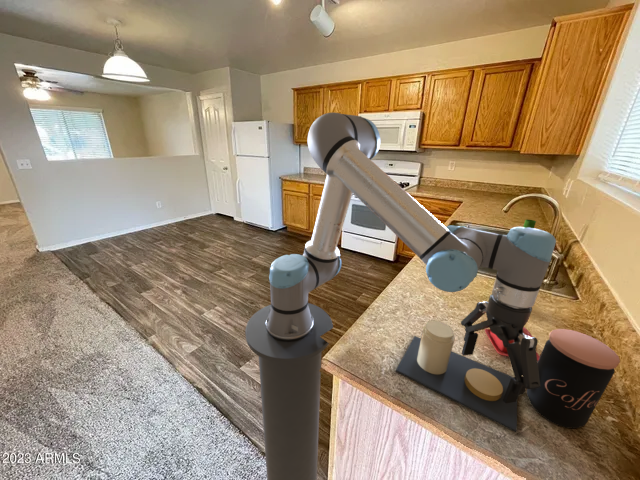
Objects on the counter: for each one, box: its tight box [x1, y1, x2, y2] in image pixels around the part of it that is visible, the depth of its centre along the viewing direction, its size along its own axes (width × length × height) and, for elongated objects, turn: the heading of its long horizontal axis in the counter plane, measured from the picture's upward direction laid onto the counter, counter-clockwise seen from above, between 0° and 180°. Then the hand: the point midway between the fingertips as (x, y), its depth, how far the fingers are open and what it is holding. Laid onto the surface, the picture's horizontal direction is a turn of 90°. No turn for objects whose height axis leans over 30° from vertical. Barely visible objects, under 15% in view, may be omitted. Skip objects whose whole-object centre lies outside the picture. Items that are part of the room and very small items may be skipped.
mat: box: [395, 335, 518, 433], centre depth 68 cm, size 26×16×1 cm, turn 55°
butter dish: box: [484, 326, 540, 362], centre depth 77 cm, size 12×12×8 cm
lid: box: [465, 369, 503, 401], centre depth 64 cm, size 8×8×2 cm
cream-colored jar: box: [417, 319, 456, 374], centre depth 69 cm, size 8×8×11 cm
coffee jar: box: [526, 328, 621, 429], centre depth 57 cm, size 11×11×18 cm
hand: (486, 375), depth 64 cm, fingers open, 13 cm apart
